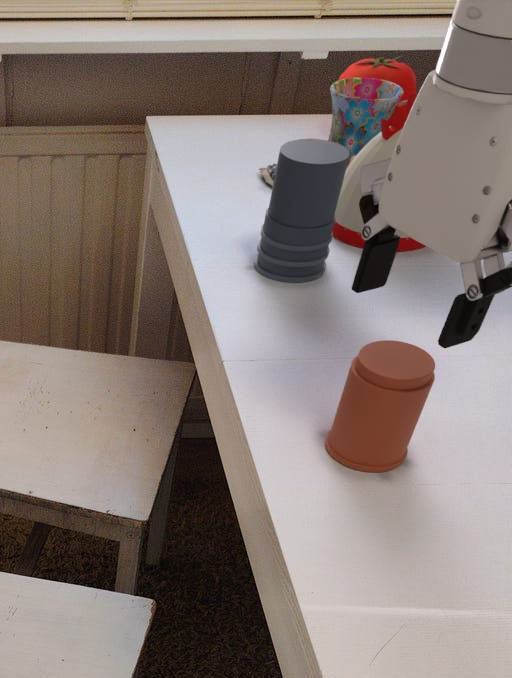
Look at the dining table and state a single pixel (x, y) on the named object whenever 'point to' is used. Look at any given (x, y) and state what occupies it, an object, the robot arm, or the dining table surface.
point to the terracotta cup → (380, 405)
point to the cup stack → (301, 210)
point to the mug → (361, 110)
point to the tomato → (384, 75)
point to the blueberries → (269, 173)
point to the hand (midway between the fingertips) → (409, 314)
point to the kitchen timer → (350, 194)
